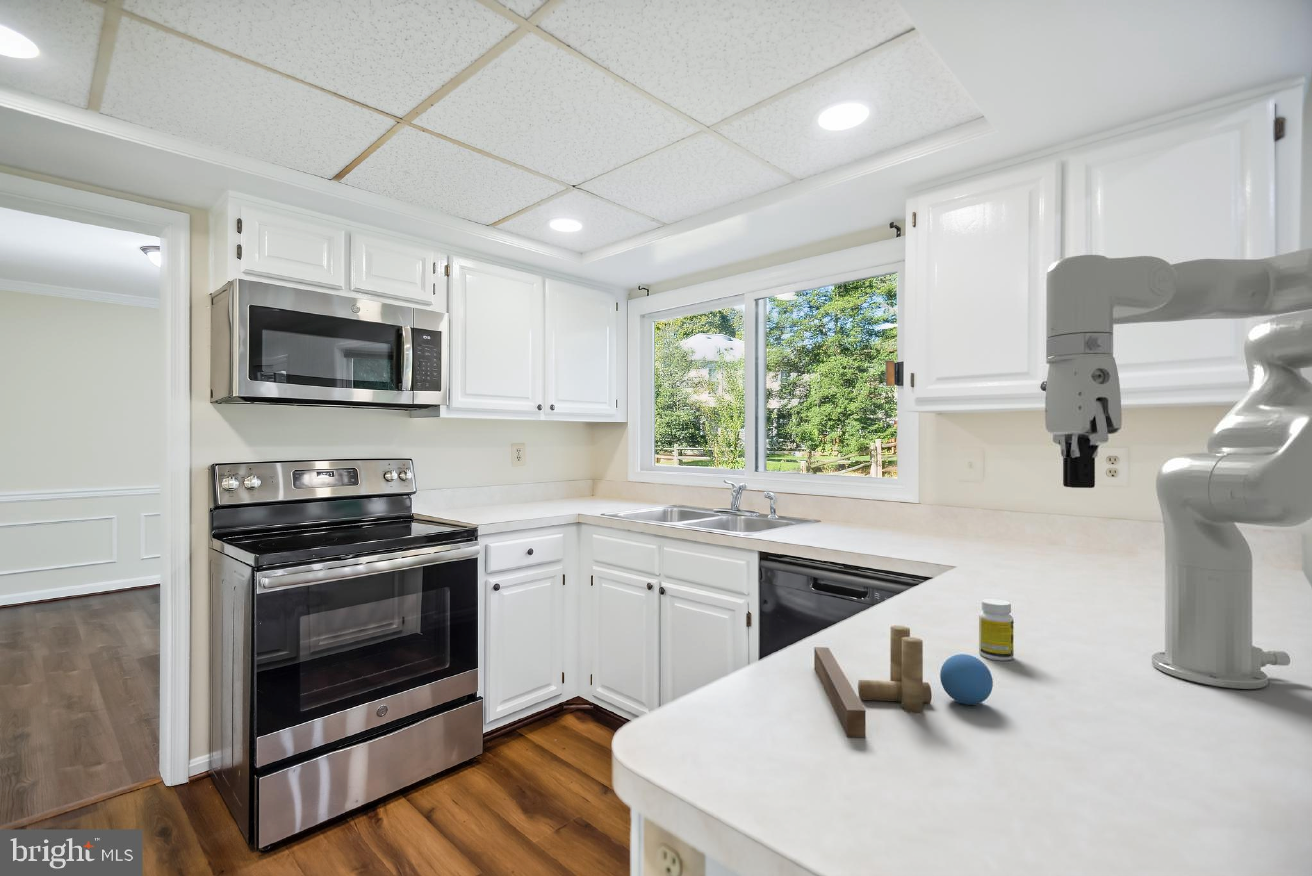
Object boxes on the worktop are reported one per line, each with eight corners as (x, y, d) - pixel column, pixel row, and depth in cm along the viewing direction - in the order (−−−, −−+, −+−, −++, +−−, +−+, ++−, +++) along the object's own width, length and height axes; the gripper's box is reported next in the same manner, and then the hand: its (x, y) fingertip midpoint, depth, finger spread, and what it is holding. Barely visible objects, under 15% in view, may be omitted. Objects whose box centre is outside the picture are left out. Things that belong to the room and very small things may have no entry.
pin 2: (919, 705, 80) (919, 637, 80) (925, 713, 78) (925, 643, 78) (899, 704, 80) (899, 636, 80) (905, 712, 78) (905, 642, 78)
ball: (925, 660, 84) (946, 701, 84) (941, 676, 78) (965, 721, 78) (966, 640, 84) (988, 681, 83) (986, 655, 78) (1010, 699, 77)
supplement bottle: (1018, 662, 96) (1018, 606, 96) (984, 660, 97) (984, 604, 97) (1007, 652, 101) (1007, 598, 101) (975, 650, 102) (975, 597, 102)
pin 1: (906, 689, 85) (906, 625, 85) (912, 696, 83) (912, 631, 83) (888, 689, 85) (888, 625, 85) (893, 696, 83) (893, 630, 83)
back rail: (828, 668, 93) (828, 647, 93) (865, 737, 71) (865, 710, 71) (814, 667, 93) (814, 647, 93) (847, 736, 71) (847, 709, 71)
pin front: (924, 680, 83) (857, 677, 83) (931, 685, 80) (862, 682, 81) (925, 699, 82) (858, 696, 83) (931, 705, 80) (862, 702, 81)
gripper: (1146, 341, 78) (1146, 492, 78) (1076, 358, 93) (1076, 484, 93) (1082, 342, 79) (1082, 491, 78) (1022, 358, 93) (1022, 483, 93)
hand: (1078, 487), depth 86 cm, fingers closed
